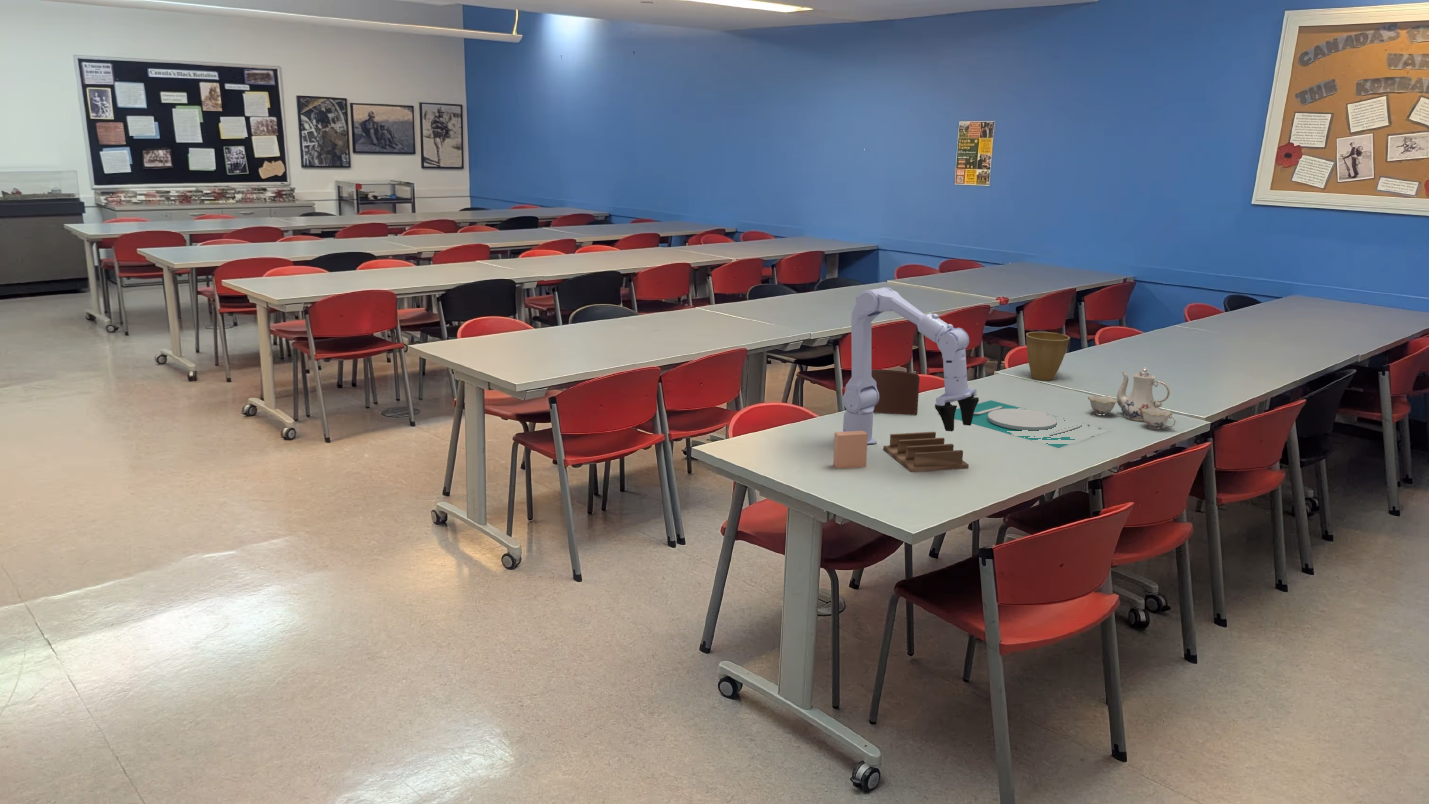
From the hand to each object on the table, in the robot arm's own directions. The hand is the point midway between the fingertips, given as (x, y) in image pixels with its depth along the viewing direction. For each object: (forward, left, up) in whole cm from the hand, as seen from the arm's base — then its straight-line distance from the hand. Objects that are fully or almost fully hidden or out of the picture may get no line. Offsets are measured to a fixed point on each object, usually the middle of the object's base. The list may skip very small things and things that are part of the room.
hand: (958, 428), depth 238 cm
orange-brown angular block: (-5, -27, -11) cm, 30 cm away
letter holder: (-55, +3, -11) cm, 57 cm away
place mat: (-34, +39, -12) cm, 53 cm away
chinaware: (-31, +75, -11) cm, 82 cm away
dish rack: (-7, -5, -11) cm, 14 cm away
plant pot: (-84, +76, -11) cm, 114 cm away
